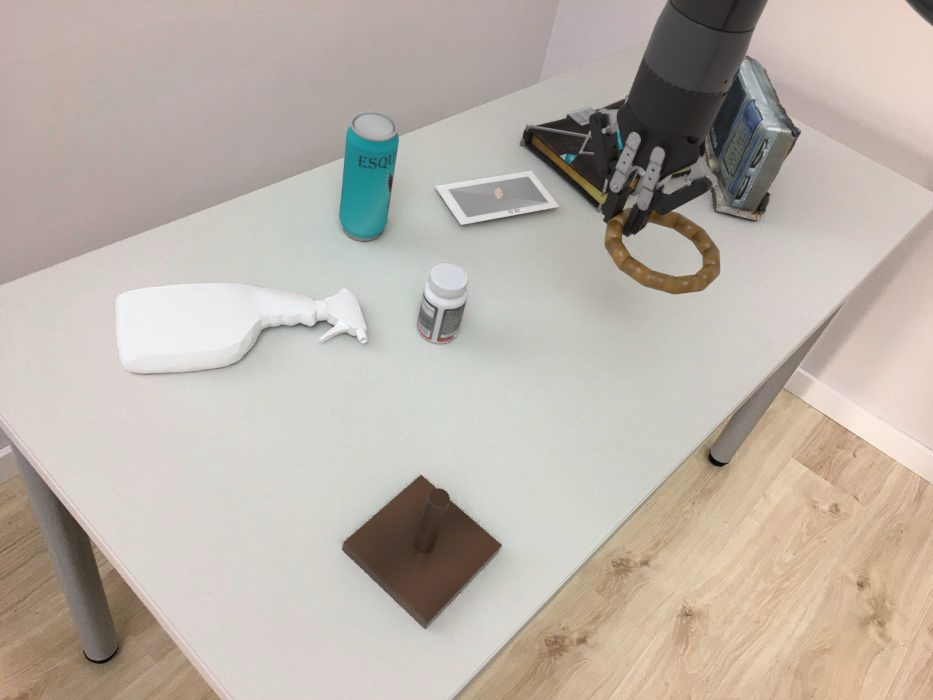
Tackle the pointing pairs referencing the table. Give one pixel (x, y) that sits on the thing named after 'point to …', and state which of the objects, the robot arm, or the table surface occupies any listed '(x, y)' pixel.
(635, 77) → the robot arm
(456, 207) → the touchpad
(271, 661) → the table surface
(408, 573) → the peg post
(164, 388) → the table surface
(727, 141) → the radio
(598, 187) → the book
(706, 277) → the ring
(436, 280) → the pill bottle
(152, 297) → the spray bottle
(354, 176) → the beverage can
